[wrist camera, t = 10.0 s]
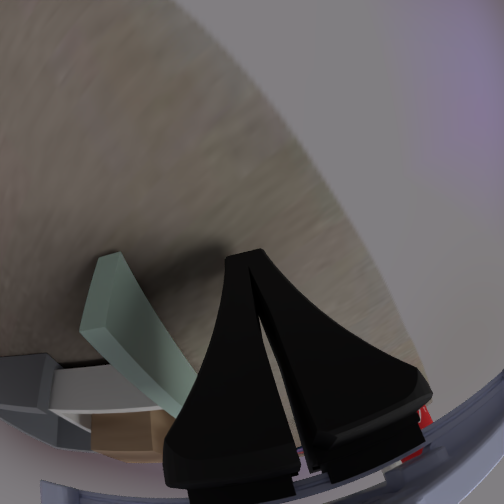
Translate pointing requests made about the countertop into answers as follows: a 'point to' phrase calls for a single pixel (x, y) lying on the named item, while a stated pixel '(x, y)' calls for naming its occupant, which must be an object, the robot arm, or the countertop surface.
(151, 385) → the box with green panel
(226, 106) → the countertop surface
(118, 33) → the countertop surface
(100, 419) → the walnut block
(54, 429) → the gray open box
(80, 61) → the countertop surface
